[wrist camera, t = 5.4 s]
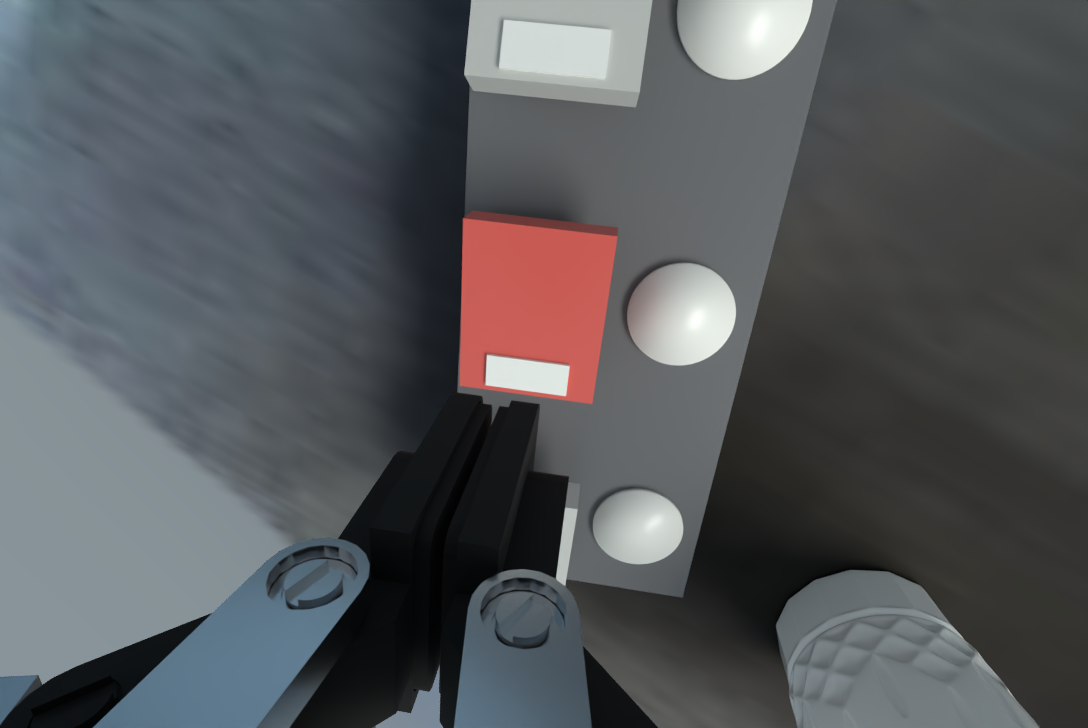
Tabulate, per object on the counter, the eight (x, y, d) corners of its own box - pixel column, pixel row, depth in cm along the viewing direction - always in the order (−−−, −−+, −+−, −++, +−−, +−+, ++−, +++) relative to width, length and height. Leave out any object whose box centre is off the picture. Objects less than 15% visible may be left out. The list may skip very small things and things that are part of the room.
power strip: (513, -308, 14) (484, -445, 11) (872, -289, 14) (958, -427, 10) (468, 512, 24) (446, 571, 21) (674, 544, 24) (684, 610, 20)
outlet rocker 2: (472, 210, 15) (462, 219, 14) (617, 226, 15) (617, 237, 14) (467, 370, 17) (458, 387, 16) (593, 387, 17) (592, 405, 16)
